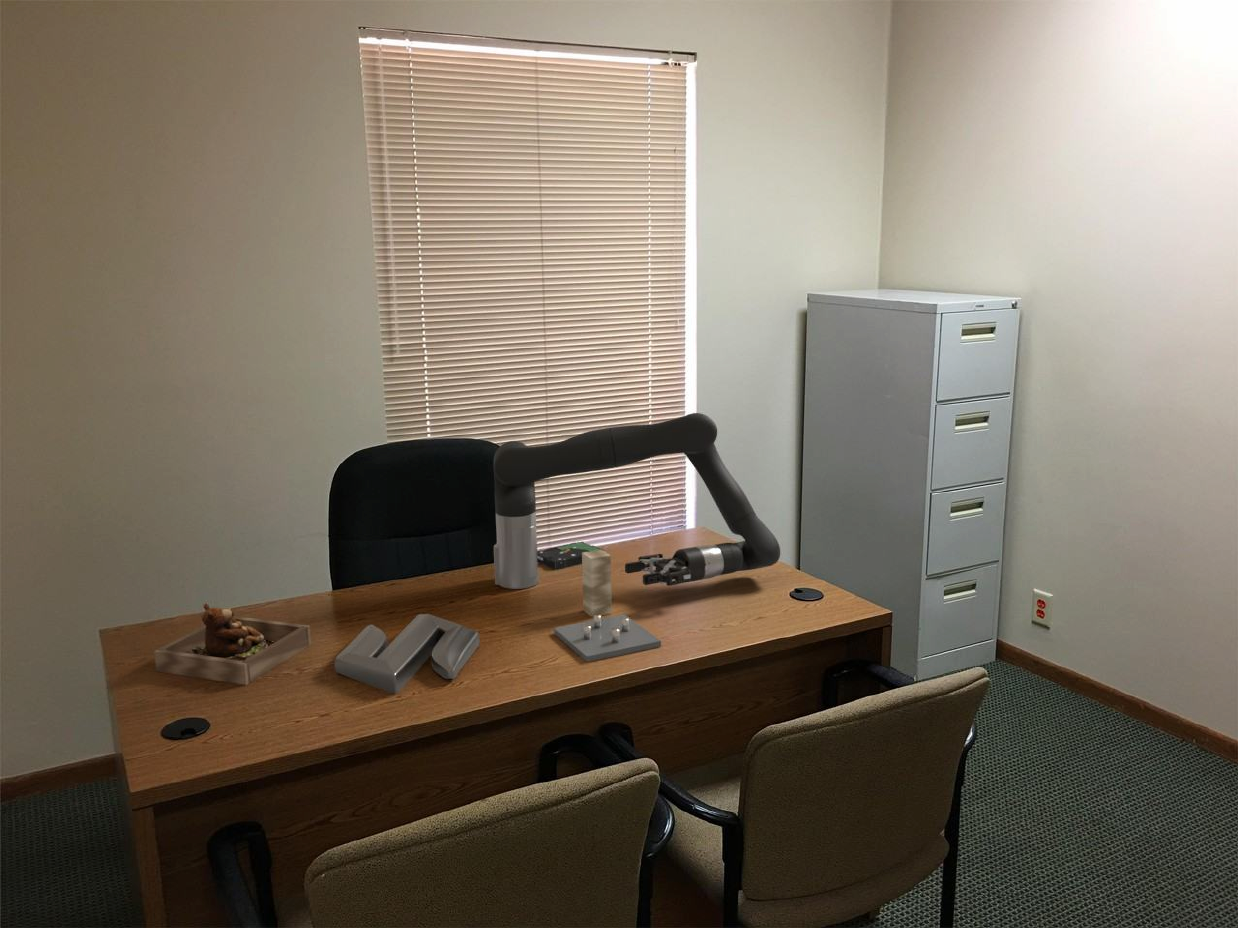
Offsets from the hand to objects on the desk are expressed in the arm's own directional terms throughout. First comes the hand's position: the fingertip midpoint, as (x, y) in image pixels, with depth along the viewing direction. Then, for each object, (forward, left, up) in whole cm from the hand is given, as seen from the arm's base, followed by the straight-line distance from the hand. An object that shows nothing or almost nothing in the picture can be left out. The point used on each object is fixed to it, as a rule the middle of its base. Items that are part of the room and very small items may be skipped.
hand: (634, 574), depth 216 cm
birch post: (-6, -6, -7) cm, 11 cm away
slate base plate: (+1, -20, -7) cm, 22 cm away
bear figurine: (-66, -50, -7) cm, 83 cm away
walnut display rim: (-65, -49, -7) cm, 82 cm away
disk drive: (-25, +26, -8) cm, 37 cm away
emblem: (-32, -40, -8) cm, 52 cm away
